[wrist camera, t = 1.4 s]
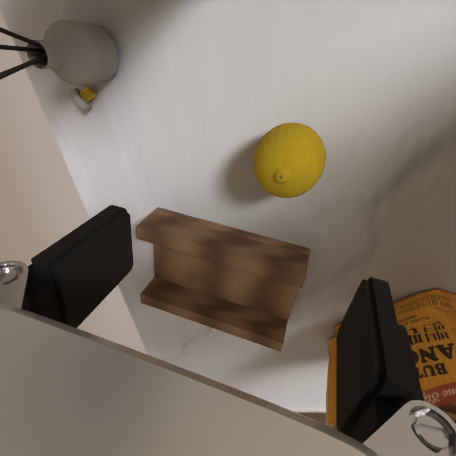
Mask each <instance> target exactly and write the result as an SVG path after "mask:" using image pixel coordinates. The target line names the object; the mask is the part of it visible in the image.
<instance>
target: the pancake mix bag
mask: <svg viewBox="0 0 456 456" xmlns="http://www.w3.org/2000/svg"><path fill="white" fill-rule="evenodd" d="M393 305H394V310H395V314H396V319H397V323H398V324H399V325H403V326H404V327H405V328H406V330H407V333H408V337H409V341H410V345H411V349H412V353H413V357H414V361H415V365H416V369H417V373H418V377H419V381H420V385H421V389H422V393H423V397H424V401H425V402H428V403H430V404H432V405H434V406H436V407H438V408H439V409H440V410H442V411H443V412H444V413H446V414H447V415H448V416H449V417H450V418H451V419H452V420H453V421H454V423H455V424H456V294H455V293H452V292H448V291H445V290H442V289H439V288H437V289H432V290H428V291H423V292H419V293H416V294H414V295H411V296H408V297H406V298H403V299H400V300H398V301H395V302H393ZM341 323H342V322H341ZM341 323H339V324H337V325H335V326H334V328H335V336H334V337H333V338H332V339H330V340H329V341H328V342H327V344H328V351H329V365H328V377H327V392H326V426H328V427H331V428H333V429H335V430H337V427H336V364H337V332H338V329H339V327H340V325H341ZM337 431H338V430H337ZM339 432H340V431H339Z"/></svg>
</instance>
